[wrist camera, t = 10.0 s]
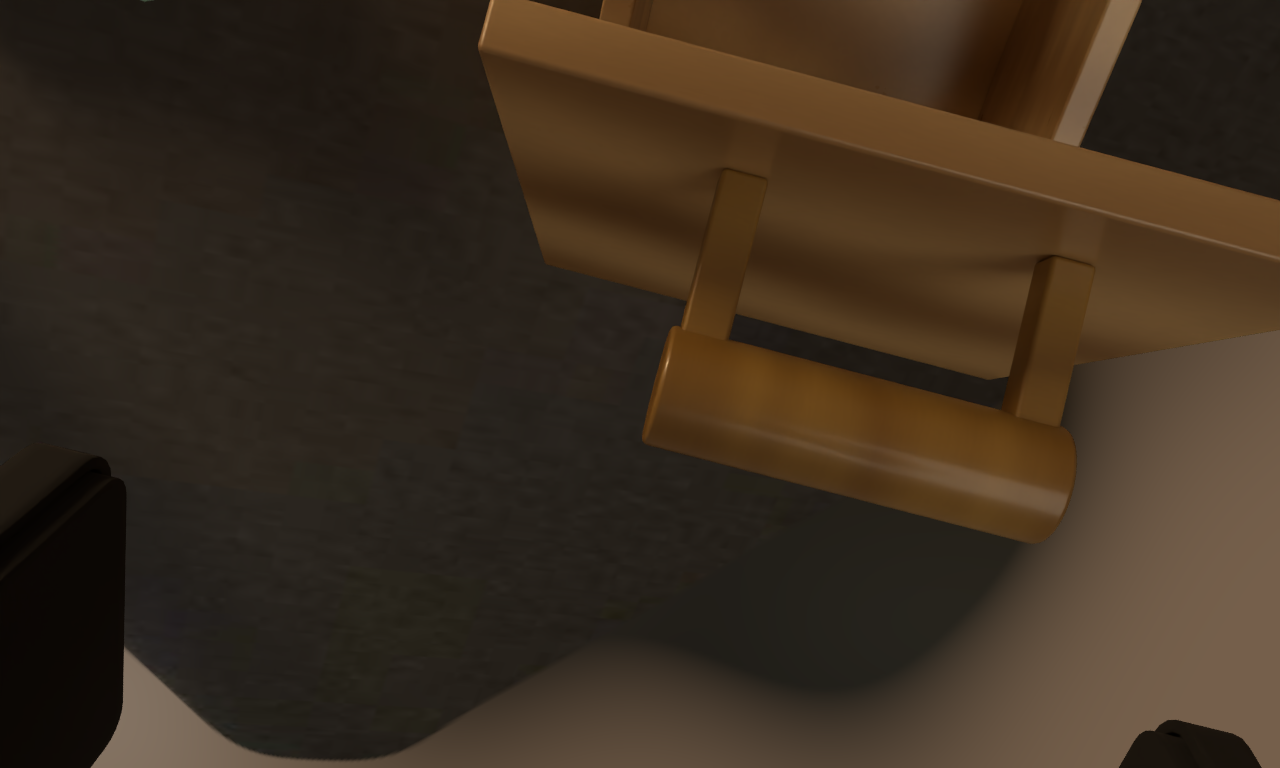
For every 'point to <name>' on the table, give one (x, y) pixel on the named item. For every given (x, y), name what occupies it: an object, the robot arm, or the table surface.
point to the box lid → (863, 260)
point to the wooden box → (921, 49)
